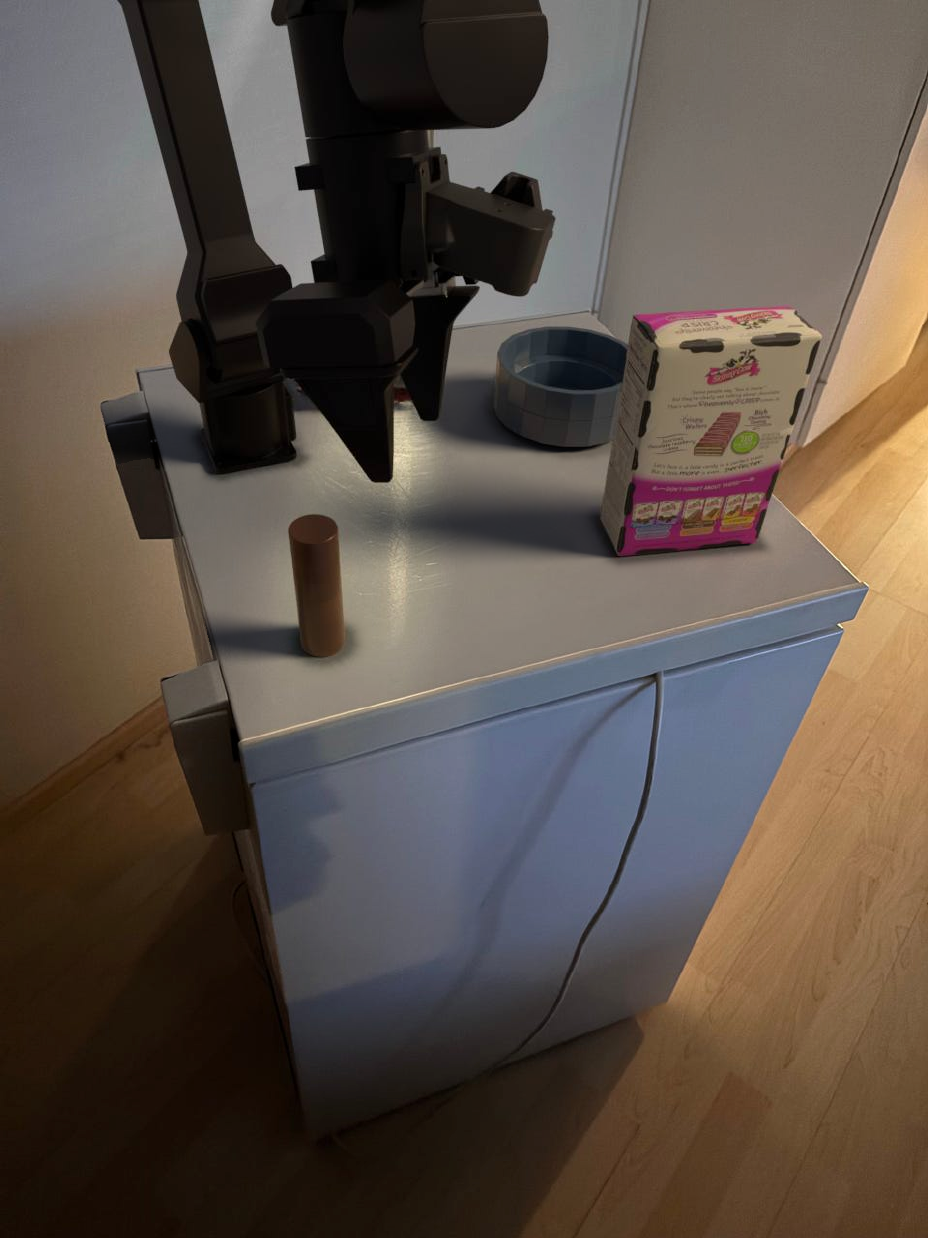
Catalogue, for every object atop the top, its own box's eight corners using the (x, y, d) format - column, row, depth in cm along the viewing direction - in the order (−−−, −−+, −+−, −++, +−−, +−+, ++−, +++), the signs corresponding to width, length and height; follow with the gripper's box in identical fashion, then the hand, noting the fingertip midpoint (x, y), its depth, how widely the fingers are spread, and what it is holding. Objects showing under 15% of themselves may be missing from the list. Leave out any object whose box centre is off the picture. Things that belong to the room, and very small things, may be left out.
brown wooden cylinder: (307, 661, 55) (295, 547, 49) (295, 632, 57) (282, 519, 51) (351, 650, 56) (344, 537, 50) (337, 622, 58) (329, 509, 52)
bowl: (531, 464, 73) (538, 404, 69) (471, 394, 81) (474, 337, 77) (657, 438, 77) (670, 379, 73) (588, 373, 85) (596, 318, 81)
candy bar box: (730, 506, 70) (792, 302, 59) (757, 545, 66) (829, 336, 55) (594, 517, 68) (631, 309, 57) (614, 558, 64) (658, 344, 53)
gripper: (491, 133, 32) (517, 525, 40) (567, 104, 47) (575, 393, 55) (213, 158, 35) (291, 520, 43) (369, 123, 50) (404, 395, 58)
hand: (408, 448), depth 50 cm, fingers open, 9 cm apart
